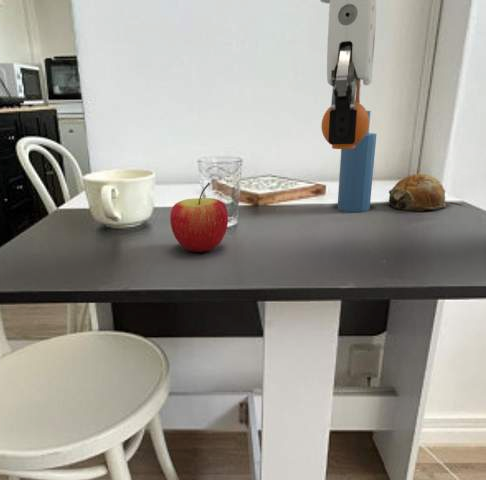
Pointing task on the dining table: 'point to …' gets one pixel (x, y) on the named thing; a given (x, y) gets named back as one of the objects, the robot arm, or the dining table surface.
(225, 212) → the apple
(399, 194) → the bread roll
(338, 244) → the dining table surface
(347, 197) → the bottle
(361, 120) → the orange
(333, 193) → the dining table surface
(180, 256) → the dining table surface
